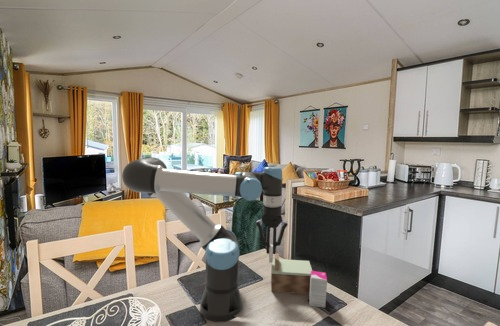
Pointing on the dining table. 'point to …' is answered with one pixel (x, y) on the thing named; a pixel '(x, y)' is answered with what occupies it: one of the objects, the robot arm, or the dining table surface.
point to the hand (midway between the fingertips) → (270, 260)
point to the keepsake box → (290, 283)
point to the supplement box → (317, 289)
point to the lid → (291, 267)
